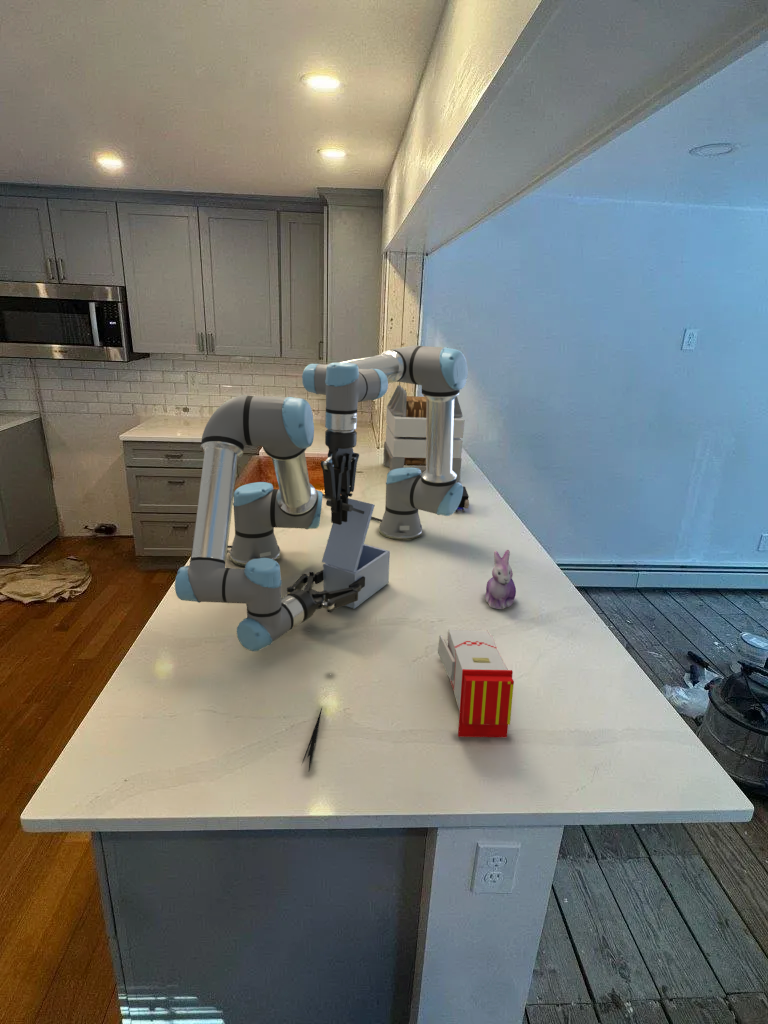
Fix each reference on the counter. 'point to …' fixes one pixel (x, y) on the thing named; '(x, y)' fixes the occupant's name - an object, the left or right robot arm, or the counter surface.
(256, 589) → the left robot arm
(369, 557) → the chest
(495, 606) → the figurine
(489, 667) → the toy
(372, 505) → the lid
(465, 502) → the figurine character
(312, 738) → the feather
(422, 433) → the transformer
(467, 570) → the counter surface
